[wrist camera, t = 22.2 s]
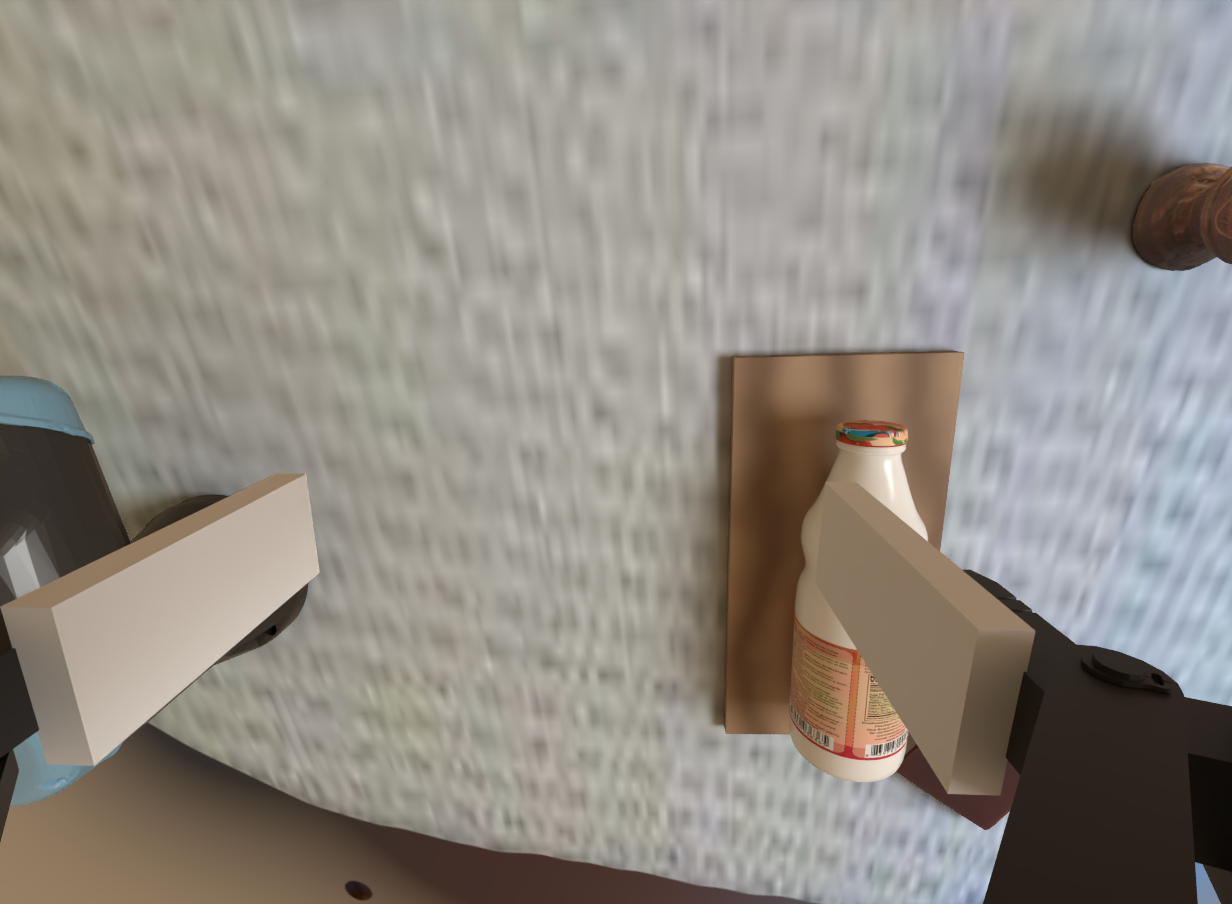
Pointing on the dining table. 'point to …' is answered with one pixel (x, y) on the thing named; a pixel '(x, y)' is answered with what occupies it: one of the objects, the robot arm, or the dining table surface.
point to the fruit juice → (822, 651)
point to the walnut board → (812, 492)
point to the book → (972, 807)
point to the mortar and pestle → (1186, 218)
